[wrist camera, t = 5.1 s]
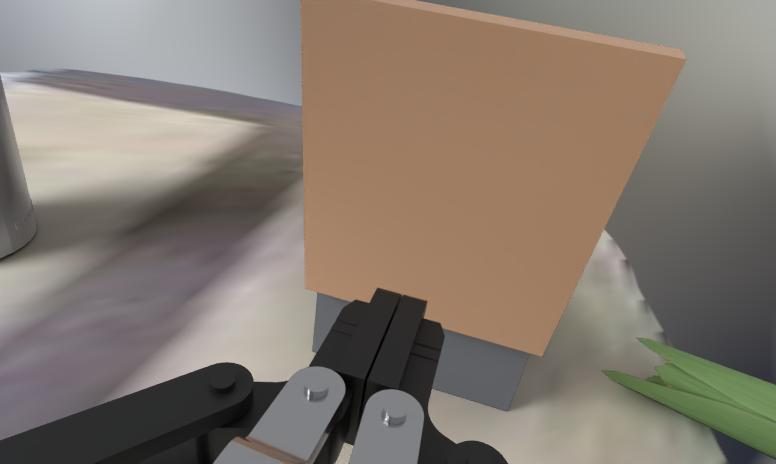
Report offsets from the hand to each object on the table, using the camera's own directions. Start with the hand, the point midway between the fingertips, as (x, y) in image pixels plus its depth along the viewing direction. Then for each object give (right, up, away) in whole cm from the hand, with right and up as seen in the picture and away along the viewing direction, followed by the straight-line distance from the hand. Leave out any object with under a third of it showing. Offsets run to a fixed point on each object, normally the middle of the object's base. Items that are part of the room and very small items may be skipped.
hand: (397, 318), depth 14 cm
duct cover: (+2, +4, +9) cm, 10 cm away
